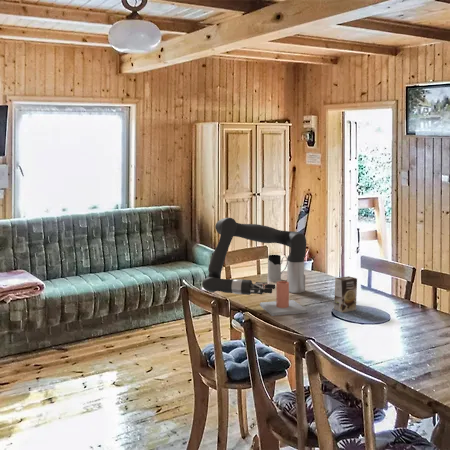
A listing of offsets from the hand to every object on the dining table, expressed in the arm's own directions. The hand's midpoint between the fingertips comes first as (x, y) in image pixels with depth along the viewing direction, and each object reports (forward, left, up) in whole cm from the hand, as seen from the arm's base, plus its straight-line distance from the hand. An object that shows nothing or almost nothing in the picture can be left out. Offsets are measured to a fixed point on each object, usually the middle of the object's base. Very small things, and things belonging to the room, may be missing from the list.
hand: (273, 288), depth 272 cm
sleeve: (-4, +2, -8) cm, 10 cm away
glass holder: (-23, -56, -10) cm, 61 cm away
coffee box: (-33, +12, -10) cm, 37 cm away
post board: (-4, +2, -10) cm, 11 cm away
